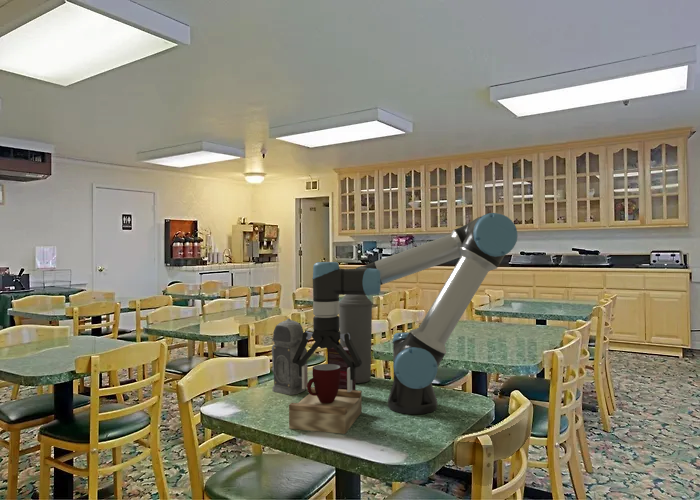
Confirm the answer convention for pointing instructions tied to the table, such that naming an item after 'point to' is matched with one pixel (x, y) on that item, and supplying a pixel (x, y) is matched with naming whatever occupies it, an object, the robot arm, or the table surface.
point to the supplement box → (336, 359)
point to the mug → (325, 382)
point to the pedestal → (326, 412)
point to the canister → (358, 330)
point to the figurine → (287, 357)
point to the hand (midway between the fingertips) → (327, 389)
